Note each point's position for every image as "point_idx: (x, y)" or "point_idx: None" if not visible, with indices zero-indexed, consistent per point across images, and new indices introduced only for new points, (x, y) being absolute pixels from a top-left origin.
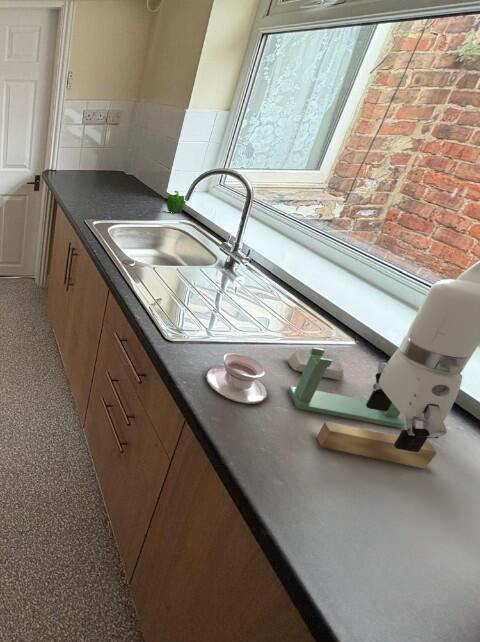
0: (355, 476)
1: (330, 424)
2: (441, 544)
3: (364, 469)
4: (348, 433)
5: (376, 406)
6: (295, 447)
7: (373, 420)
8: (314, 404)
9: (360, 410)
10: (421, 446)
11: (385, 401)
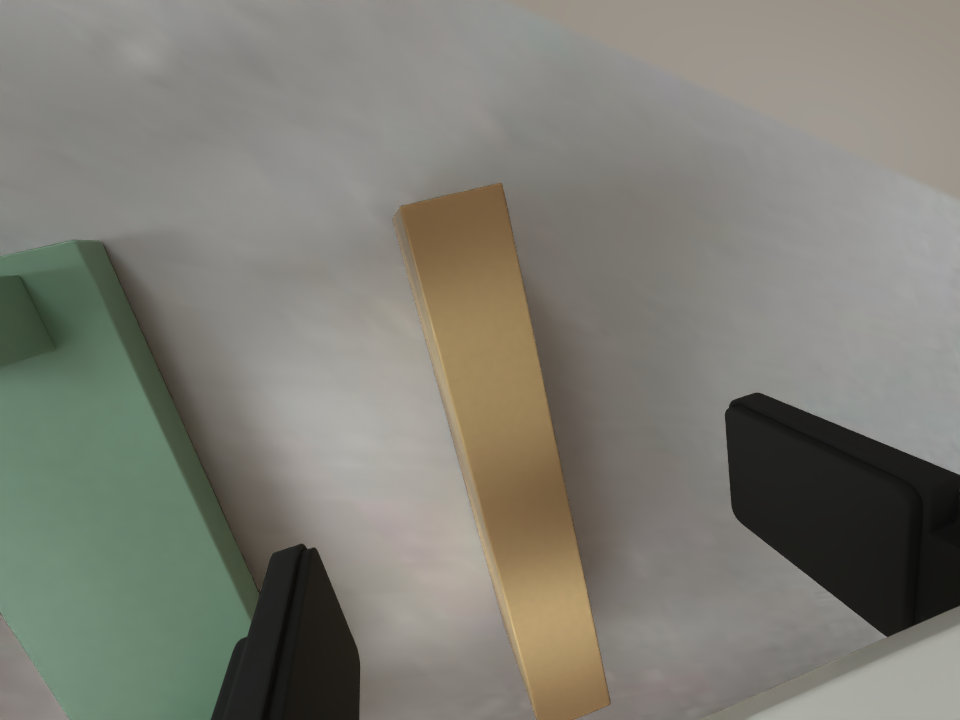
0: (673, 491)
1: (553, 709)
2: (881, 260)
3: (615, 460)
4: (589, 635)
5: (345, 652)
6: (611, 676)
7: (166, 411)
8: None
9: (114, 487)
10: (807, 415)
11: (319, 690)
